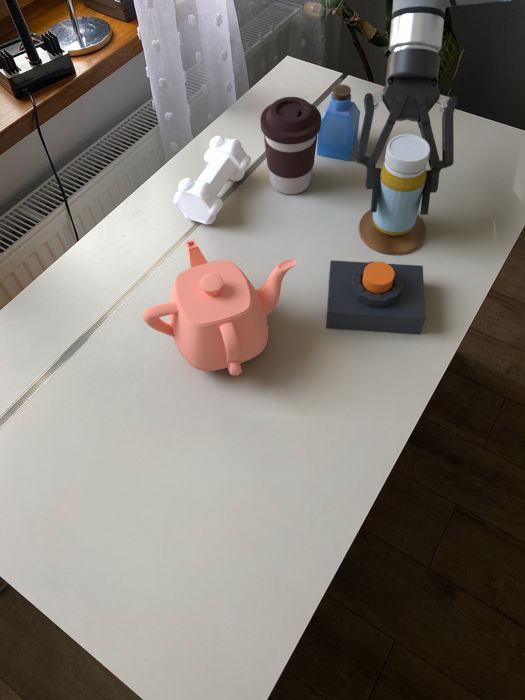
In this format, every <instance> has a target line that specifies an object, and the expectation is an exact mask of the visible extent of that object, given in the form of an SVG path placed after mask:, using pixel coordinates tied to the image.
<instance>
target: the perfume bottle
mask: <svg viewBox="0 0 525 700" xmlns="http://www.w3.org/2000/svg"><path fill="white" fill-rule="evenodd" d="M351 92H352V88H351V87H350V86H349V85H347V84H337V85H335V86H333V88H332V94H331V96H330V101H329V103H328V104H327V106H326V108H325V110H324V113H323V115H322V116H321V128H320V131H319V132H318V134H317V144H316V156H320V157H325V158H330V159H337V160H342V161H347V162H350V160H351V157H352V155H353V153H354V149H355V147H356V145H357V144H356V143H357V141H358V135H359V127H360V126H359V125H360V117H361V111H360V109H359V107H358V105H357V104H356V103H355V102H354V101H352V94H351Z"/></svg>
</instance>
